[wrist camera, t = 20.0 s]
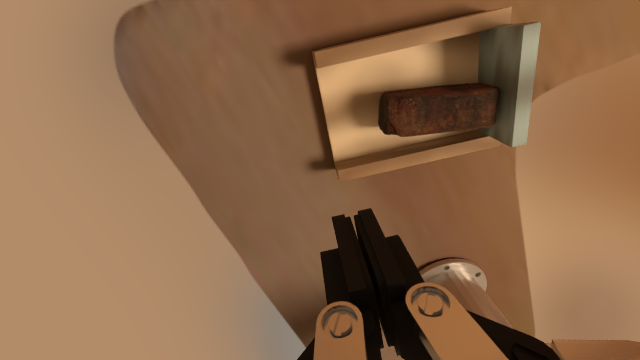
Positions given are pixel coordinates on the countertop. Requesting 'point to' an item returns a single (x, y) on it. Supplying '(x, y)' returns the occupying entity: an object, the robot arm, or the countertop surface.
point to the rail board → (425, 71)
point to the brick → (438, 109)
